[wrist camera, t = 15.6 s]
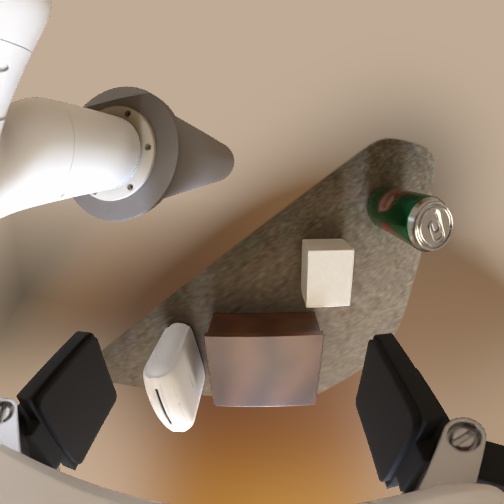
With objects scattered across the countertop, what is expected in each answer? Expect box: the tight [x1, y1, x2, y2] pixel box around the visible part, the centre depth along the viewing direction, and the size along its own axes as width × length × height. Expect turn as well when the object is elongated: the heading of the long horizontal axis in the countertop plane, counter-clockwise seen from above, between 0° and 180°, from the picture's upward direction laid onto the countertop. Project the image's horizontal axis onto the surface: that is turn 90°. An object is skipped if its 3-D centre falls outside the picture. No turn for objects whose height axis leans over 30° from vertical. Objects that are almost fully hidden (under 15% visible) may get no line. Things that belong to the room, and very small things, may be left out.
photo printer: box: [143, 323, 205, 432], centre depth 34 cm, size 10×4×12 cm, turn 8°
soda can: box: [367, 187, 453, 252], centre depth 27 cm, size 5×5×12 cm
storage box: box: [204, 312, 324, 407], centre depth 36 cm, size 13×11×6 cm
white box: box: [301, 239, 354, 308], centre depth 33 cm, size 5×6×5 cm
